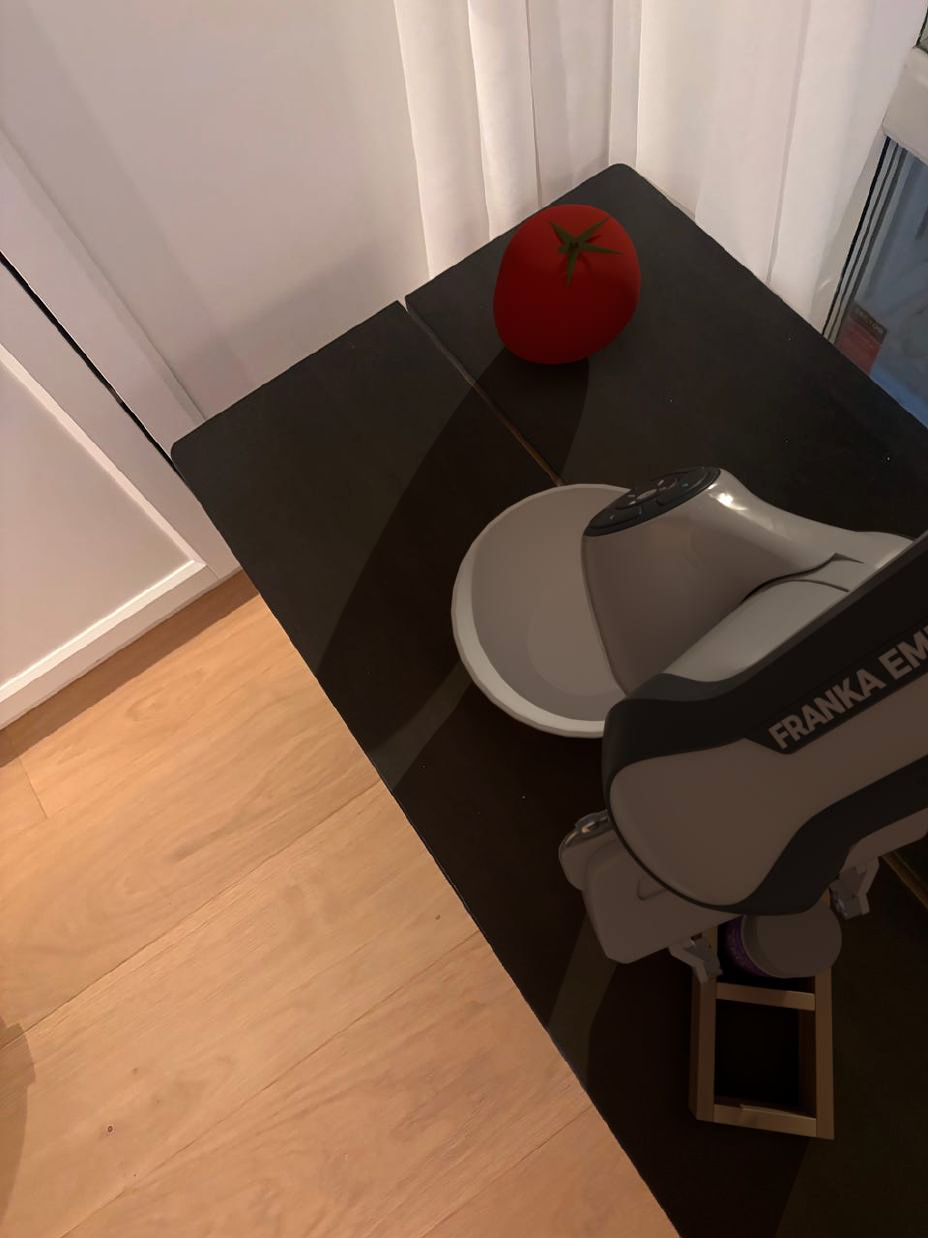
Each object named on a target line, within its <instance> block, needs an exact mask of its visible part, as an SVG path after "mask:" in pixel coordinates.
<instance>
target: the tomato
mask: <svg viewBox="0 0 928 1238" xmlns="http://www.w3.org/2000/svg"><path fill="white" fill-rule="evenodd" d="M641 289H642V272H641V268H640V263H639V259H638V254H637V251H636V249H635V246H634V244H633V240H632V239H631V237H630V236H629V235H628V233H627V231H626V230H625V229H624V227H623V226H622V225H621V223H619V221H618V220H616V219H615V218H614V217H613V216H612V215H610V214H609V213H608V212H606V211H604V210H603V209H601V208H599V207H595V206H592V205H586V204H560V205H554V206H551V207H547V208H545V209H543V210H541V211H539V212H537V213H536V214H533V215H532V216H531V217H529V218H528V219H527V220H526V221H524V222H523V223H522V224H521V225H520V226H519V227H518V228H517V230H515V232H514V233H513V235H512V237H511V238H510V240H509V241H508V244H507V245H506V247H505V250H504V253H503V255H502V258H501V261H500V263H499V268H498V273H497V277H496V282H495V286H494V292H493V299H492V313H493V321H494V324H495V327H496V331H497V334H498V336H499V338H500V341H501V343H502V344H503V345H504V347H505V348H506V349H508V350H509V351H510V352H511V353H512V354H514V355H516V356H517V357H518V358H520V359H522V360H525V361H527V362H529V363H535V364H541V365H561V364H570V363H573V362H577V361H581V360H583V359H586V358H588V357H591V356H592V355H594V354H596V353H597V352H599V351H601V350H603V349H605V348H607V347H608V346H609V345H610V344H611V343H612V342H614V341H615V340H616V339H617V338H618V337H619V335H621V333H622V332H623V331H624V329H625V328H626V327H627V326H628V324H629V323H630V322H631V319H632V318H633V316H634V314H635V313H636V309H637V307H638V302H639V300H640V296H641V295H640V294H641Z"/></svg>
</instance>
